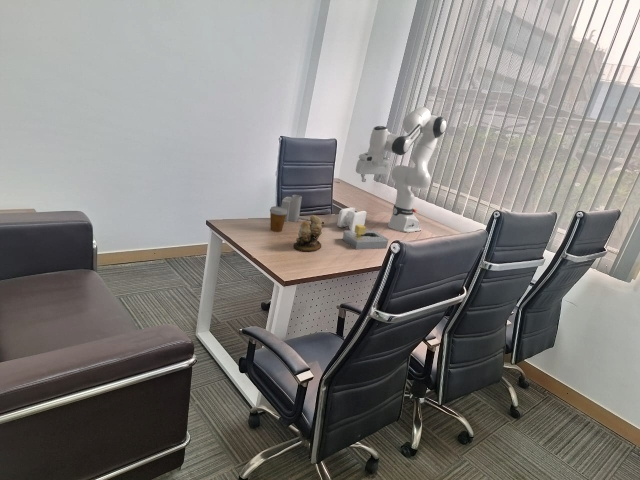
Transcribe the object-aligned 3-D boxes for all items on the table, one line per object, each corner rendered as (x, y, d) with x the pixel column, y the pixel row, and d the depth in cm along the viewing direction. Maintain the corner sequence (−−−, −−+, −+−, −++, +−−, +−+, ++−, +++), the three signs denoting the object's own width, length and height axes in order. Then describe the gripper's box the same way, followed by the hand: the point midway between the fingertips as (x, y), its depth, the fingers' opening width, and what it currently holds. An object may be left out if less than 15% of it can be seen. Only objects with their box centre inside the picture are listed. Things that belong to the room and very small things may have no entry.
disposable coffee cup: (288, 230, 222) (290, 209, 218) (279, 234, 214) (282, 212, 210) (273, 225, 226) (275, 205, 221) (264, 229, 217) (266, 208, 213)
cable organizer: (350, 233, 235) (354, 214, 231) (335, 227, 240) (339, 209, 236) (363, 229, 246) (367, 211, 242) (349, 223, 252) (353, 206, 248)
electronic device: (283, 215, 246) (286, 191, 241) (324, 223, 244) (328, 199, 239) (278, 220, 235) (281, 195, 230) (321, 229, 232) (325, 204, 227)
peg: (358, 242, 222) (362, 224, 218) (362, 245, 218) (366, 227, 215) (351, 242, 220) (355, 224, 216) (355, 245, 216) (359, 227, 213)
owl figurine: (308, 239, 214) (313, 208, 208) (326, 246, 209) (332, 215, 203) (287, 246, 199) (293, 214, 194) (307, 255, 194) (313, 221, 188)
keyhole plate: (372, 238, 232) (374, 230, 230) (386, 248, 220) (388, 239, 219) (342, 239, 222) (344, 230, 221) (355, 249, 211) (357, 240, 209)
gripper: (387, 156, 227) (382, 180, 232) (356, 155, 217) (352, 180, 222) (393, 159, 222) (388, 183, 227) (362, 157, 212) (358, 183, 217)
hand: (370, 181), depth 224 cm, fingers open, 8 cm apart
